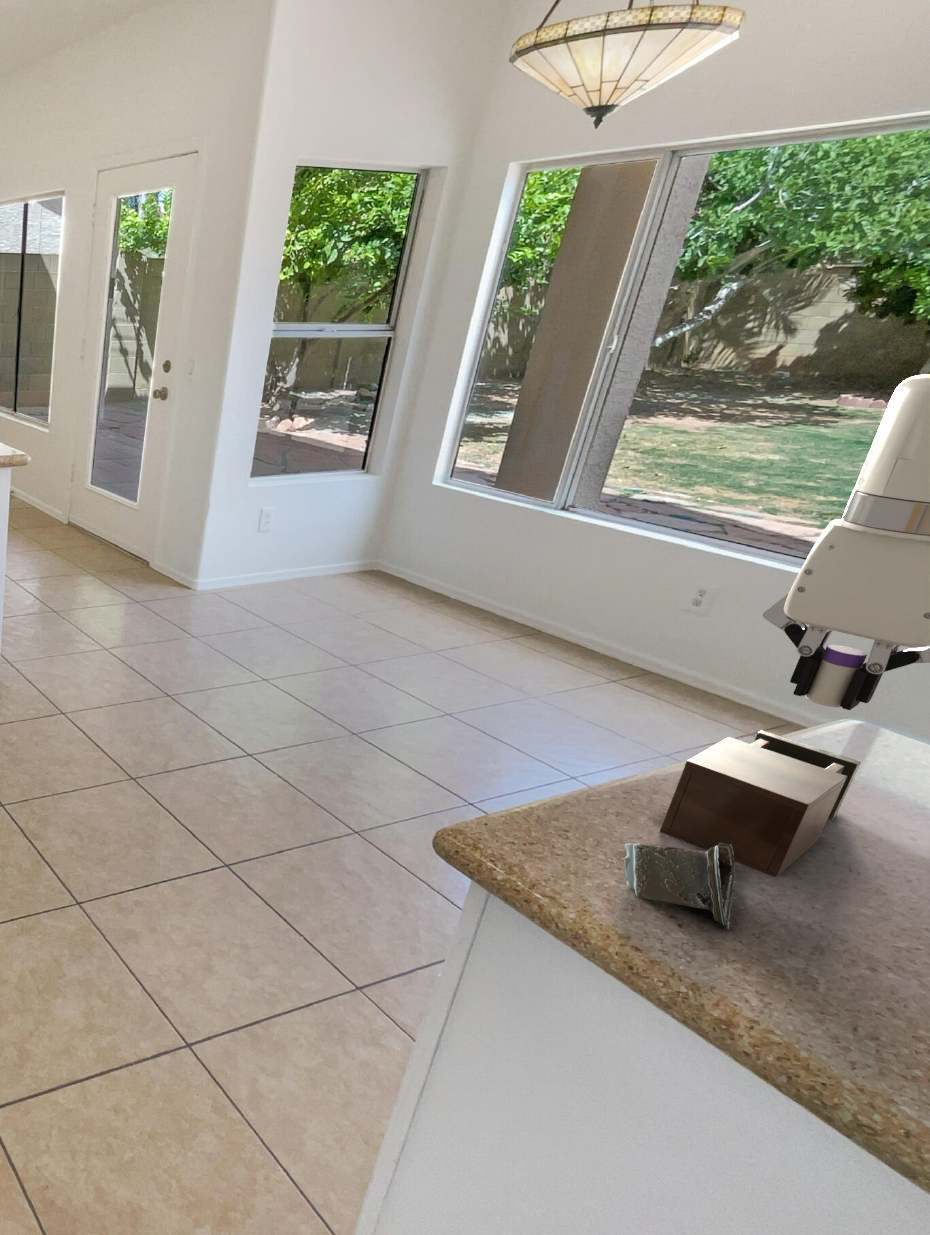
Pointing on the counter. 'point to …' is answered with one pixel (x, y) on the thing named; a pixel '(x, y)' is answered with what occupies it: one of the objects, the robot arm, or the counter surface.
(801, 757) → the drawer
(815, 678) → the glue stick
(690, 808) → the cabinet
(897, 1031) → the counter surface
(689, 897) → the squashed foil tin
